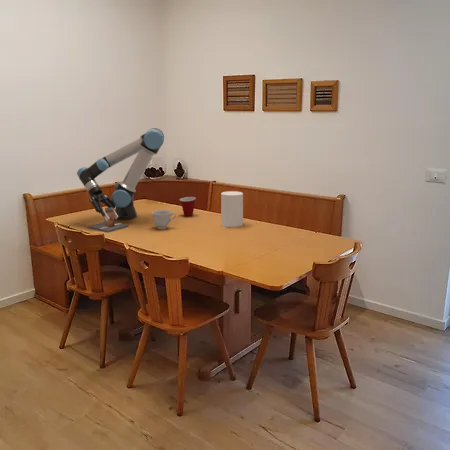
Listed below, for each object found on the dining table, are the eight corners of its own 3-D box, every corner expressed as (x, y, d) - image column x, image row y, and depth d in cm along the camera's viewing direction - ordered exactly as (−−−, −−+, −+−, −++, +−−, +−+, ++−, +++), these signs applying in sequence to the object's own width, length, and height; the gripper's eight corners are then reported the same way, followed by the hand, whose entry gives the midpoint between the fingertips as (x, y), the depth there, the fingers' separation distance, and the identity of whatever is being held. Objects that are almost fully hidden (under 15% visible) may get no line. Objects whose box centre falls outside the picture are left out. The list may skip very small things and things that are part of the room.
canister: (234, 228, 297) (234, 196, 292) (217, 225, 305) (216, 193, 300) (247, 223, 307) (247, 192, 302) (229, 220, 315) (229, 190, 310)
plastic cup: (177, 214, 332) (177, 197, 329) (192, 213, 336) (192, 196, 333) (183, 218, 323) (182, 200, 320) (198, 216, 327) (198, 199, 324)
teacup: (175, 230, 293) (174, 214, 290) (150, 230, 293) (149, 214, 290) (177, 225, 304) (177, 209, 302) (153, 225, 305) (153, 209, 302)
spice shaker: (110, 224, 302) (109, 207, 299) (116, 225, 299) (115, 208, 297) (104, 226, 298) (103, 208, 296) (109, 227, 295) (108, 209, 293)
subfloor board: (108, 222, 312) (108, 220, 311) (128, 226, 301) (128, 224, 301) (88, 227, 299) (88, 225, 299) (108, 232, 289) (108, 230, 289)
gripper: (103, 191, 311) (121, 219, 305) (78, 195, 295) (97, 225, 290) (108, 183, 306) (127, 212, 301) (83, 187, 291) (102, 218, 286)
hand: (112, 218), depth 295 cm, fingers open, 6 cm apart
